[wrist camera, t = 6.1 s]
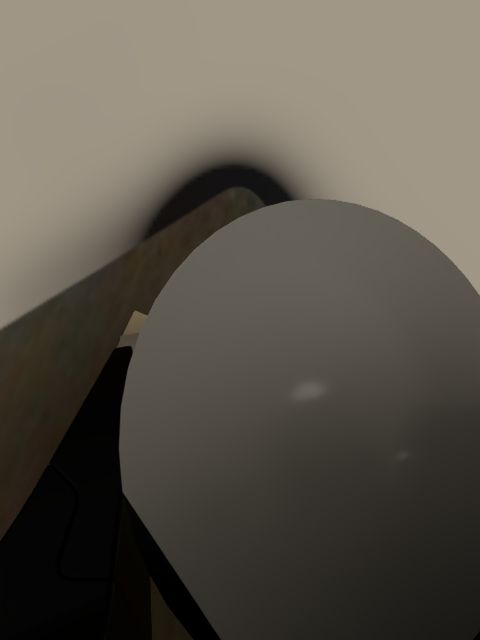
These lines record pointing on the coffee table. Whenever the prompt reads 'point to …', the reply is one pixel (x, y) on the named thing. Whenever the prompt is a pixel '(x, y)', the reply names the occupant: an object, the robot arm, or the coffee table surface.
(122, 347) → the robot arm
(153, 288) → the coffee table surface
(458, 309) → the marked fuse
